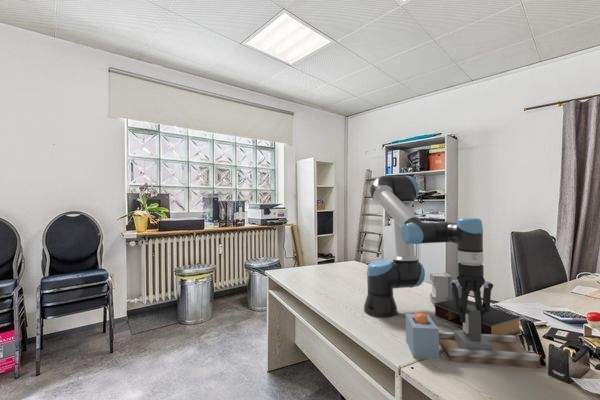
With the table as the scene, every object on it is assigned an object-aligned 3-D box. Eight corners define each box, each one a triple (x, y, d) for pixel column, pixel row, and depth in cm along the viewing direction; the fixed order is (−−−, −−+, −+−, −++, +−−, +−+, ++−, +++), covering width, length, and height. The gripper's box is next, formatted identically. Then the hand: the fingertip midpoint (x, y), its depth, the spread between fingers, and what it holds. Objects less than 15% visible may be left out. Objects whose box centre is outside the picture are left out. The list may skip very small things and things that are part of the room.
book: (491, 343, 105) (491, 324, 105) (434, 318, 128) (434, 303, 128) (520, 333, 112) (519, 316, 112) (461, 311, 135) (461, 297, 135)
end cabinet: (413, 357, 95) (413, 327, 95) (406, 340, 107) (405, 313, 107) (439, 359, 94) (438, 328, 94) (428, 341, 106) (428, 314, 106)
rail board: (450, 361, 92) (449, 350, 92) (436, 340, 106) (436, 331, 106) (540, 368, 88) (540, 356, 88) (513, 345, 102) (513, 335, 102)
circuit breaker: (465, 308, 138) (465, 277, 138) (434, 306, 141) (433, 275, 141) (460, 302, 145) (459, 273, 145) (430, 301, 148) (429, 272, 148)
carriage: (465, 352, 94) (464, 312, 94) (454, 338, 103) (453, 302, 103) (491, 354, 92) (491, 313, 92) (478, 339, 102) (477, 303, 102)
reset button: (416, 329, 99) (416, 317, 99) (413, 324, 103) (413, 312, 103) (428, 329, 98) (428, 317, 98) (425, 324, 102) (425, 313, 102)
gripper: (449, 265, 95) (450, 335, 95) (502, 266, 93) (503, 338, 93) (441, 260, 103) (442, 326, 103) (490, 261, 100) (491, 328, 100)
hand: (471, 331), depth 98 cm, fingers closed on carriage, 3 cm apart
